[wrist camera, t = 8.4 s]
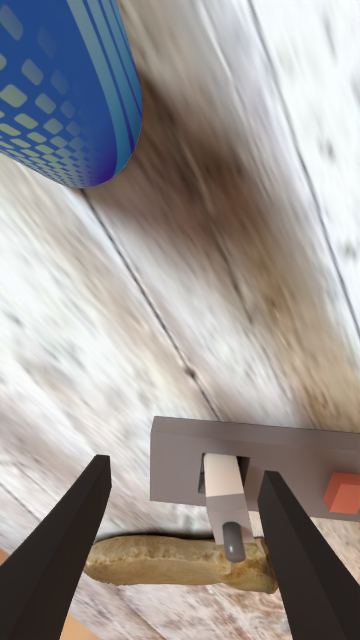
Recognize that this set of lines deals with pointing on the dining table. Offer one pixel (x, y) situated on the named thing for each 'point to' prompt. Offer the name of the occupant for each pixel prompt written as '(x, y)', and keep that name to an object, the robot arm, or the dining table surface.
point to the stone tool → (179, 563)
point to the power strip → (258, 463)
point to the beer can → (68, 89)
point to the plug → (227, 505)
